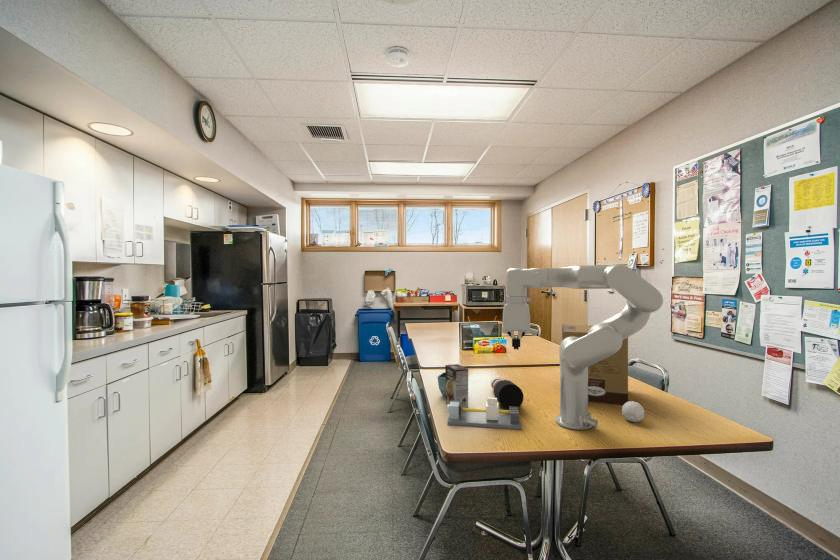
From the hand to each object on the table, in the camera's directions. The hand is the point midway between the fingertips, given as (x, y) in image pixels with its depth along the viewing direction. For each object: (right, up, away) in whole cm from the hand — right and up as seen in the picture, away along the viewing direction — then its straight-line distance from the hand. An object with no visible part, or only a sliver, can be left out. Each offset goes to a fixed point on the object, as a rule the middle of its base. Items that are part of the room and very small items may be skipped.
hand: (516, 348), depth 140 cm
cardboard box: (+42, -26, +29) cm, 57 cm away
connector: (-24, -25, -1) cm, 35 cm away
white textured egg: (+43, -26, -5) cm, 51 cm away
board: (-13, -27, -3) cm, 30 cm away
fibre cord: (-12, -23, -4) cm, 26 cm away
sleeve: (-10, -25, -4) cm, 27 cm away
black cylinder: (0, -27, +23) cm, 35 cm away
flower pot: (-23, -27, +28) cm, 45 cm away
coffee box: (-21, -27, +15) cm, 37 cm away
